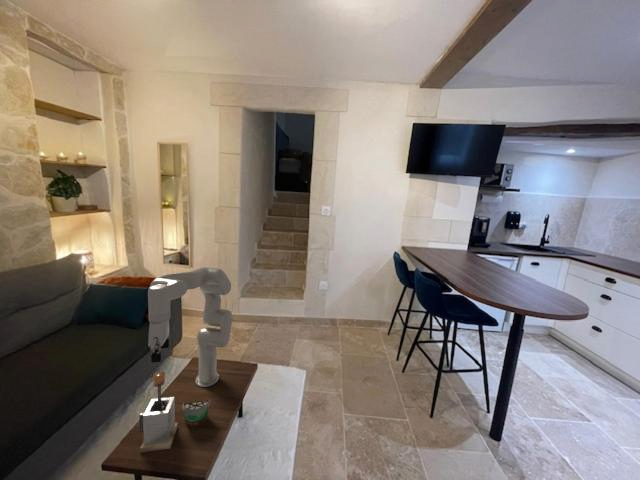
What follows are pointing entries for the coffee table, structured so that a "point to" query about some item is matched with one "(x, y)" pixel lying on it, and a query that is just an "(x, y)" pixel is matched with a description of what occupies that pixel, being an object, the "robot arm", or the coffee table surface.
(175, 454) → the coffee table surface
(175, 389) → the coffee table surface
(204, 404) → the food container
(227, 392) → the coffee table surface
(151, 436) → the press sleeve
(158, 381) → the plunger
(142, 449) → the base
